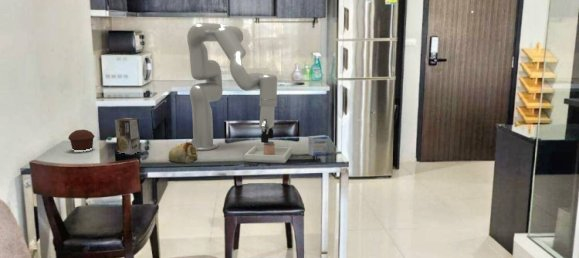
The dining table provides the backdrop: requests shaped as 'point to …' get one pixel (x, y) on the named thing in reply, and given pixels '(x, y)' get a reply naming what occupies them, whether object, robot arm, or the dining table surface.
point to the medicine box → (318, 145)
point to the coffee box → (127, 135)
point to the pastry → (183, 153)
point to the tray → (258, 155)
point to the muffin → (81, 139)
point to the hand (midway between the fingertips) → (267, 140)
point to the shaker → (269, 148)
